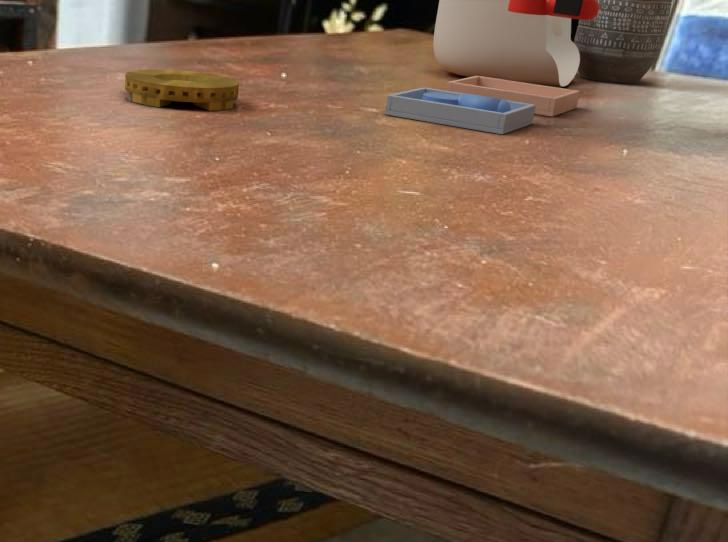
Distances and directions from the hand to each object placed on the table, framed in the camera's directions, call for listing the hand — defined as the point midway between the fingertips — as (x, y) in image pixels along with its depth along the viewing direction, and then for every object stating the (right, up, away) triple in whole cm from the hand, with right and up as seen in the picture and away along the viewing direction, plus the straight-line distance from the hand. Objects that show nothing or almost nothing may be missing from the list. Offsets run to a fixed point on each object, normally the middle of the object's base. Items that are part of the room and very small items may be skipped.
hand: (569, 13), depth 121 cm
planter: (+21, +10, +44) cm, 50 cm away
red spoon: (-1, 0, +1) cm, 2 cm away
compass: (-43, -11, -4) cm, 44 cm away
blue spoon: (-12, -12, -1) cm, 17 cm away
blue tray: (-12, -12, -1) cm, 17 cm away
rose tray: (-3, -5, +13) cm, 14 cm away
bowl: (+2, +6, +34) cm, 35 cm away
